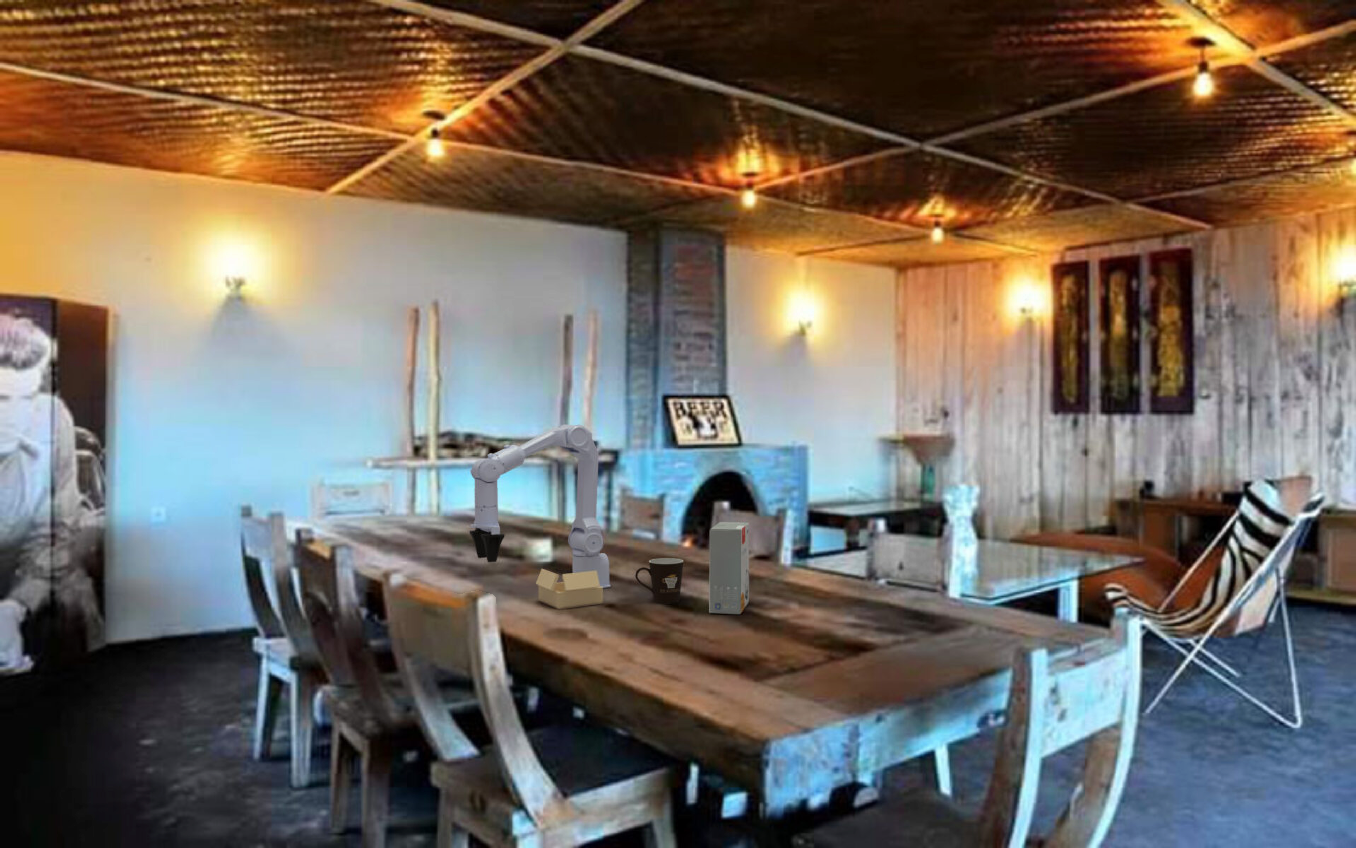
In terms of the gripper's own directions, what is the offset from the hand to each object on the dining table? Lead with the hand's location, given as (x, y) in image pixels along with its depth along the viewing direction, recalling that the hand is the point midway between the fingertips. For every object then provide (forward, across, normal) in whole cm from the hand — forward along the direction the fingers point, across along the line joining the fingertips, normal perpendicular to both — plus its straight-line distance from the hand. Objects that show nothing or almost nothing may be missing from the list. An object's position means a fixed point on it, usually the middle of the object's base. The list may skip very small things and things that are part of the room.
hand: (487, 559), depth 239 cm
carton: (+10, +14, +16) cm, 24 cm away
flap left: (+4, +20, +17) cm, 27 cm away
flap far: (+4, +15, +11) cm, 19 cm away
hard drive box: (+10, +41, +46) cm, 63 cm away
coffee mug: (+10, +25, +36) cm, 45 cm away
